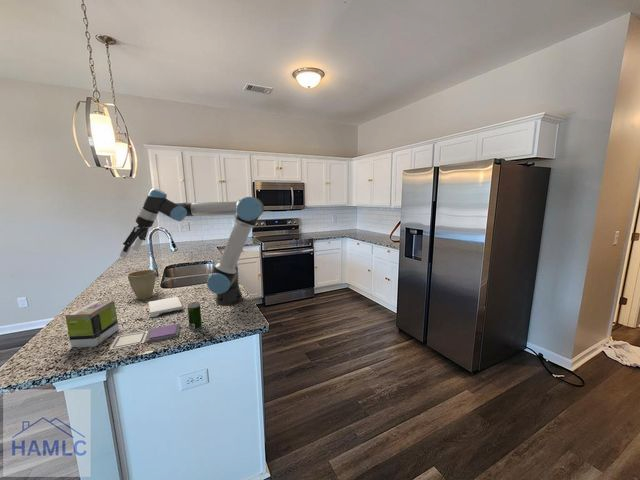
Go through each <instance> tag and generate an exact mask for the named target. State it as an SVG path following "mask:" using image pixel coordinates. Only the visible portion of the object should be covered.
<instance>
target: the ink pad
mask: <svg viewBox="0 0 640 480" xmlns="http://www.w3.org/2000/svg"><path fill="white" fill-rule="evenodd" d="M180 327H181V323H175V324H168V325H163V326H157V327H152V328H150V330H149V331H148V334H147V336H146V339H145V341H146V343H147V342H149V343H153V341H154V342H159V341H163V340H165V341H166V340H168V339H169V340H170V339H175V338H179V334H180V329H181V328H180ZM158 340H159V341H158ZM147 344H148V343H147Z"/></svg>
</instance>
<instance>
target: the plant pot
mask: <svg viewBox="0 0 640 480" xmlns="http://www.w3.org/2000/svg"><path fill="white" fill-rule="evenodd" d="M156 273H157V271H156V270H155V269H141V270H136V271H132V272H129V273H127V275H126V276H127V278H128V279H127V280H128V282H129V285H130V287H131V289H132V292H133V293H134V295H135V297H136V298H137V299H138V300H146V299H150V298H152V297H153V293H154V290H155V286H156V285H155V284H156V278H157V277H156V276H157V275H156Z"/></svg>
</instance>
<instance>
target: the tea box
mask: <svg viewBox="0 0 640 480" xmlns="http://www.w3.org/2000/svg"><path fill="white" fill-rule="evenodd" d="M64 317H65V320H66V327H67V332H68V336H69V342H70V343H69V344H70V347H71V348H72V347H77V348H93V347H94V348H95V347H97V346H99V344H100V343H102V342H104V341H105V340H107V339H108V338H109V337H110V336H112V335H114V333H116V332H118V331H119V330H120V327H119V322H118V315H117V309H116V302H115V300H102V301H101V300H99V301H91V302H88V303H87V304H85V305H83V306H81V307H80V308H76V309H75V310H73V311H72V312H70V313H67V314H65V316H64Z"/></svg>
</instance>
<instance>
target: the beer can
mask: <svg viewBox="0 0 640 480" xmlns="http://www.w3.org/2000/svg"><path fill="white" fill-rule="evenodd" d="M187 314H188V315H187V316H188V317H187V318H188V326H189V327H188V328H189V330H190V331H198V330H200V329H201V328H202V326H203V324H202V312H201V303H200V302H199V301H192V302H189V303H187Z"/></svg>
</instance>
